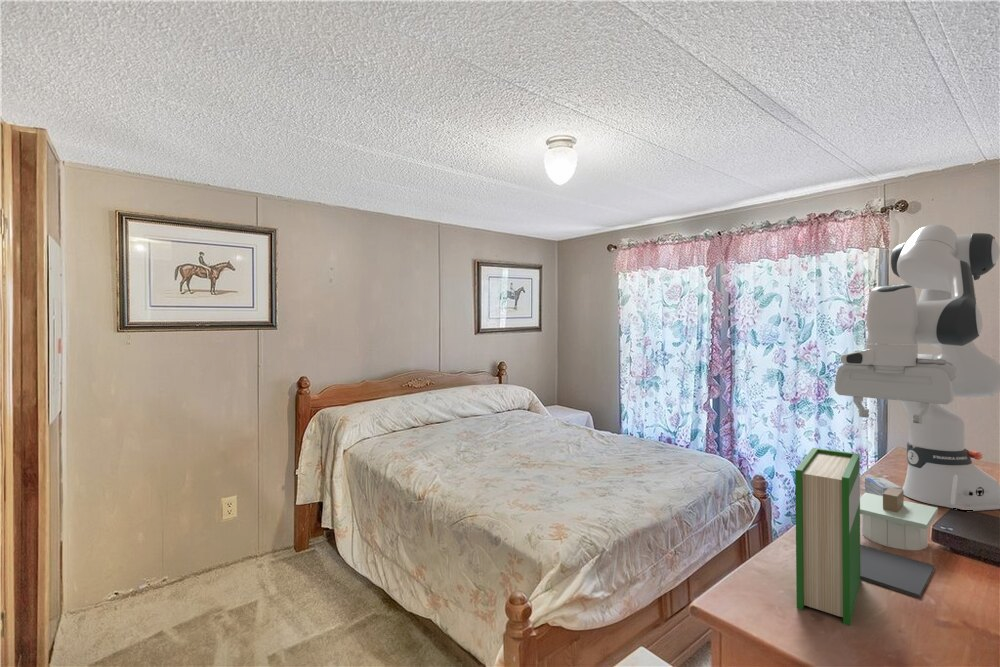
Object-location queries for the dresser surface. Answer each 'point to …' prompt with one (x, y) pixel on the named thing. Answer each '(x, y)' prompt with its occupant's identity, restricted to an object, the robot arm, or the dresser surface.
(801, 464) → the hardback book
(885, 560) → the mat
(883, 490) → the medicine box
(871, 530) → the bowl
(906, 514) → the lid
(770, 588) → the dresser surface
